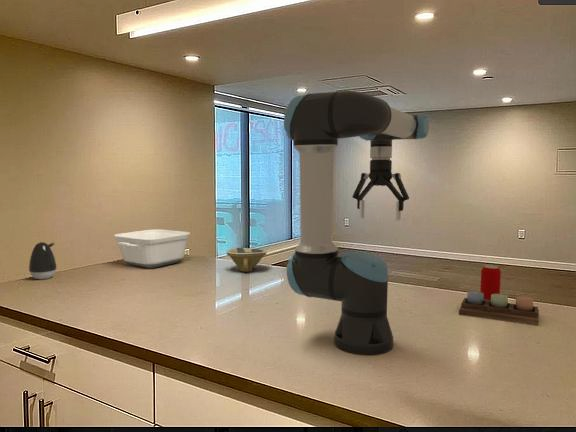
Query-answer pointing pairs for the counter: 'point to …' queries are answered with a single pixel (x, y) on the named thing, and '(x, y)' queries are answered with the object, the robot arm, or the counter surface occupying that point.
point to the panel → (499, 312)
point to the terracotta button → (524, 303)
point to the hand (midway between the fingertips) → (379, 219)
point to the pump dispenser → (42, 261)
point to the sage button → (499, 300)
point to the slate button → (475, 297)
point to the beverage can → (490, 281)
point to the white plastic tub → (152, 247)
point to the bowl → (246, 258)
